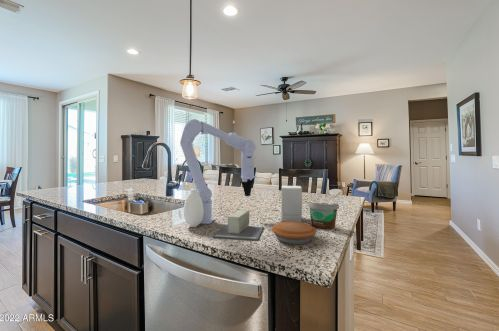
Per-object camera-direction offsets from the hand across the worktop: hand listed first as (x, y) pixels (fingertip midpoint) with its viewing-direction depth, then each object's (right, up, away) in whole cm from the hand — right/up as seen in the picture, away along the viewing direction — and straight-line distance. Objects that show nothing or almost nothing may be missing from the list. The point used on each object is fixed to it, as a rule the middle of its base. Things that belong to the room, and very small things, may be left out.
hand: (247, 195), depth 111 cm
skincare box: (-1, -7, -12) cm, 14 cm away
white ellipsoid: (-22, -11, -13) cm, 28 cm away
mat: (-3, -11, -20) cm, 23 cm away
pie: (+16, -12, -27) cm, 34 cm away
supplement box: (+20, -11, -1) cm, 23 cm away
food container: (+30, -11, -14) cm, 35 cm away
